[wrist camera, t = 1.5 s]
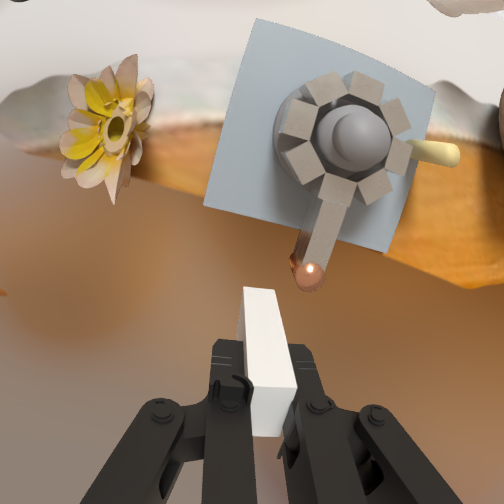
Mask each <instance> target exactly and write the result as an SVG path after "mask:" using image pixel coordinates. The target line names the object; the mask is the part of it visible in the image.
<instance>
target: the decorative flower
mask: <svg viewBox="0 0 504 504" xmlns="http://www.w3.org/2000/svg"><path fill="white" fill-rule="evenodd" d="M137 75H138V56H137V54H134V55H131V56H129V57H127V58H125V59H124V60H123V62H122V63H121V64H120V65H119V68H118V70H117V73H116V76H115V75H114V73H113V71H112V69H111V67H110V66H108V67H106V68H105V69H104V70H103V71H102V73H101V76H100V78H99V79H97V78H96V77H95V78H92V79H88V78H86V77H83V76H80V75H76V74H73V76H72V77H71V79H70V82H69V84H68V95H69V97H70V100H71V102H72V104H73V106H75V107H76V108H77V109H76V110H72V111H71V113H70V115H69V118H68V126H69V129H70V130H68V131H66V132H65V133H64V134H63V135H62V136H61V137H60V145H59V147H60V150H61V153H62V154H63V155H64V156H65V157H66V160H65V162H64V164H63V166H62V170H61V175H62V177H63V178H65V179H69V178H73V177H75V179H76V181H77V183H78V185H79V186H80V187H83V188H92V187H94V186H97V185H98V184H99V183H101V182H102V181H103V180H104V181H105V184H106V186H107V189H108V192H109V195H110V198H111V201H112V202H113V205H115V202H116V198H117V195H118V193H119V190H120V187H121V186H125V187H127V186H128V185H129V181H130V173H131V164H132V165H136V164H138V162H139V161H140V158H141V155H142V153H143V151H142V141H141V140H144V139H146V138H148V136H147V135H146V133H144V131H146V130H147V129H148V128H149V127H150V125H148V124H147V123H143V122H145V120H146V119H147V117H148V114H149V111H150V108H151V100H152V97H153V94H154V85H153V83H152V80H151V79H150V78H146V79H144V80H142V81H140V82H138V83H137Z"/></svg>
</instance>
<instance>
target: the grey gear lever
mask: <svg viewBox="0 0 504 504" xmlns="http://www.w3.org/2000/svg"><path fill="white" fill-rule="evenodd" d="M384 86H385V84H384V83H382V82H380V81H378V80H375V79H373V78H371V77H369V76H367V75H364V74H362V73H360V72H357V71H355V70H354V71H352V72H350V73H348V74H346V75H344V76H343V80H341V78H340V76H339V75H338V73H337V71H336V70H335V71H332V72H330V73H328V74H325V75H323V76H321V77H319V78H316V79H314V80H312V81H310V82H308V83H305V84H304V85H303V86H301V87H300V88H299V91H300V92H301V94H302V96H303V98H304V99H305V101H306V102H303V101H300V100H296V99H293V98H292V99H291V100H289V101H288V102H287V104H286V107H285V111H284V114H283V118H282V121H281V125H280V128H279V132H278V133H279V134H282V135H285V136H289V137H292V138H295V139H299V140H301V141H299V142H297V143H296V144H294V145H292V146H290V147H288V148H286V149H284V150H283V151H281V154H282V156H283V158H284V159H285V161H286V163H287V165H288V166H289V168H290V170H291V172H292V174H293V176H294V177H295V179H296V181H297V182H299V183H300V184H302V185H304V184H306V183H308V182H310V181H311V180H313V179H314V181H313V184H312V187H311V190H310V192H311V193H312V196H311V199H310V202H309V205H308V208H307V212H306V215H305V218H304V221H303V224H302V227H301V230H300V233H299V237H298V240H297V242H296V246H295V249H294V252H293V253H292V254H291V256H290V258H289V265H290V268H291V270H292V273H293V275H294V278H295V280H296V283H297V285H298V287H299V288H300V289H301V290H303V291H306V292H313V291H316V290H318V289H319V288H320V287H321V286H322V285H323V283H324V281H325V273H324V272H325V269H326V266H327V264H328V261H329V258H330V255H331V253H332V250H333V247H334V245H335V242H336V239H337V236H338V233H339V230H340V228H341V225H342V222H343V219H344V216H345V213H346V210H347V207H350V204H351V201H352V198H353V195H354V197H355V199H356V200H358V201H360V202H362V203H363V204H365V205H369V204H370V203H372V202H374V201H376V200H377V199H379V198H381V197H383V196H385V195H386V194H388V193H390V192H392V191H393V187H392V185H391V182H390V180H389V177H388V175H387V172H386V171H388V172H391V173H394V174H397V175H401V176H405V173H406V169H407V166H408V163H409V159H410V156H411V152H412V149H413V146H412V145H410V144H408V143H406V142H404V141H402V140H399V139H397V138H395V136H397V135H399V134H401V133H403V132H405V131H407V130H409V129H411V128H412V127H411V125H410V122H409V120H408V118H407V115H406V113H405V111H404V109H403V106H402V104H401V102H400V100H399V98H392V99H387V100H383V101H381V98H382V95H383V90H384ZM337 98H342V99H344V100H347V101H350V102H352V103H355V104H357V105H359V106H362V107H365V108H367V109H369V110H370V111H372V112H373V113H374V114H375V115H377V116H378V117H380V118H381V119H382V120H383V121H384V122H385V124H386V125H387V127H388V129H389V132H390V137H391V143H390V149H389V151H388V153H387V155H386V156H385V158H384V159H383V160H382V161H380V162H379V163H377V164H375V165H374V166H372V167H371V168H369V169H367V170H364V171H359V172H357V173H355V174H353V175H351V176H349V177H348V178H344V177H341V176H338V175H335V174H332V173H329V172H326V171H325V169H324V168H323V166H322V164H321V162H320V160H319V158H318V156H317V154H316V152H315V150H314V148H313V146H312V145H311V143H310V141H309V140H310V137H311V134H312V130H313V127H314V123H315V120H316V116H317V113H318V109H319V107H321V106H323V105H325V104H327V103H329V102H331V101H333V100H335V99H337Z"/></svg>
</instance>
